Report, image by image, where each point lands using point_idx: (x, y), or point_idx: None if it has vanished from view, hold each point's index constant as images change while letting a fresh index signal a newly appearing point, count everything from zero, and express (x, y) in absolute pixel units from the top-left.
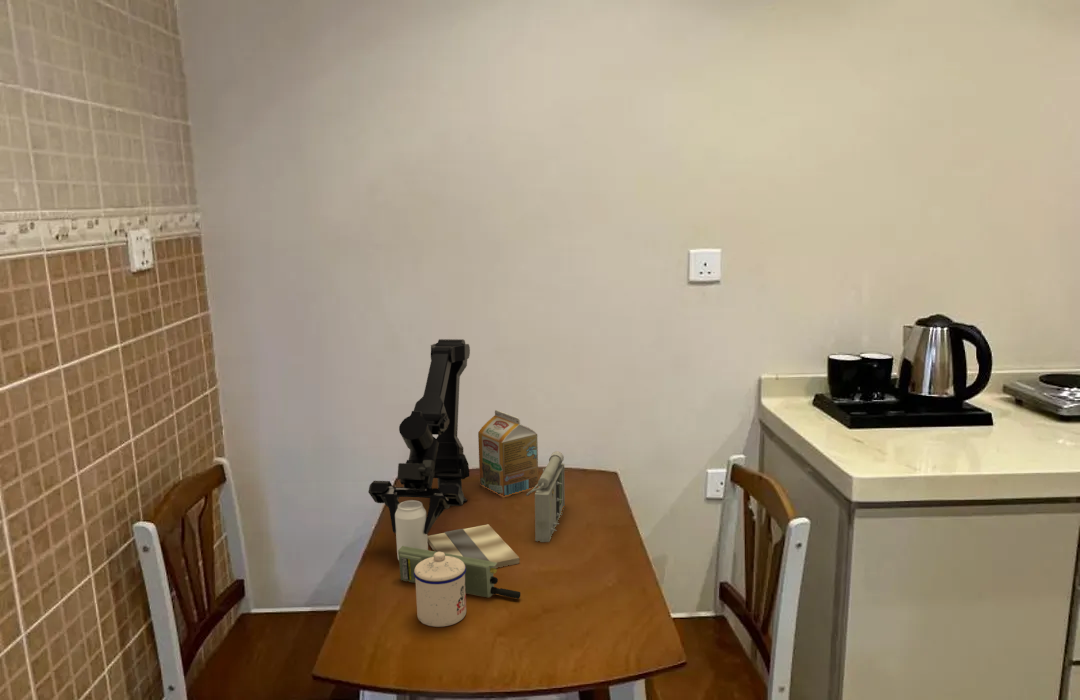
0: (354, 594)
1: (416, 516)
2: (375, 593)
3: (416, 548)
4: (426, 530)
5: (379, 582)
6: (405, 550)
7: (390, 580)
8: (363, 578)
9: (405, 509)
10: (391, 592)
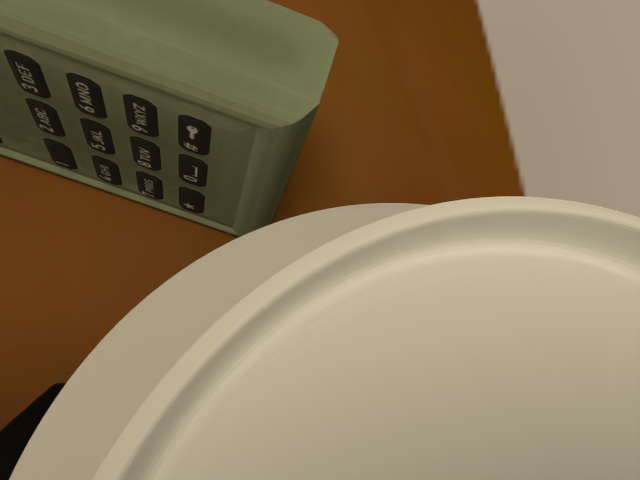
0: (482, 29)
1: (198, 269)
2: (380, 30)
3: (145, 35)
4: (42, 398)
5: (402, 144)
6: (260, 14)
7: (344, 166)
8: (512, 193)
9: (598, 213)
10: None
